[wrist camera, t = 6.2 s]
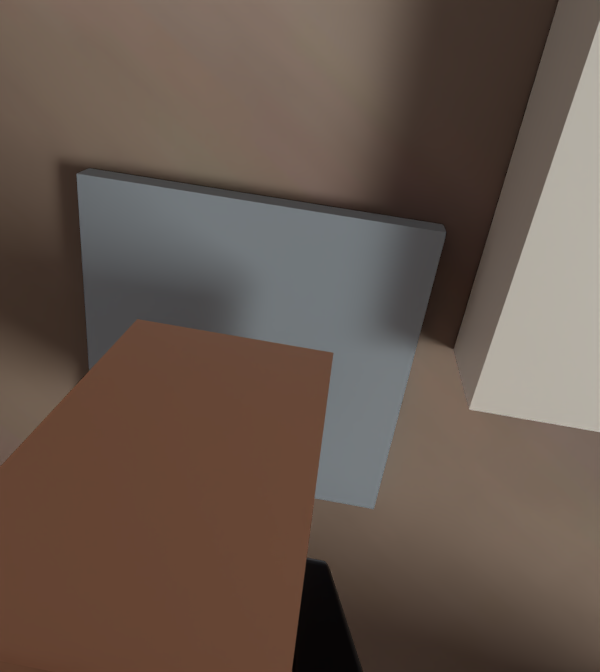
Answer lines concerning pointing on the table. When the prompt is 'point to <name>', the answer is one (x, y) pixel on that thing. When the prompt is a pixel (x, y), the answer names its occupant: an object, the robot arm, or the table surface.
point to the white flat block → (545, 248)
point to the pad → (269, 294)
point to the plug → (165, 509)
